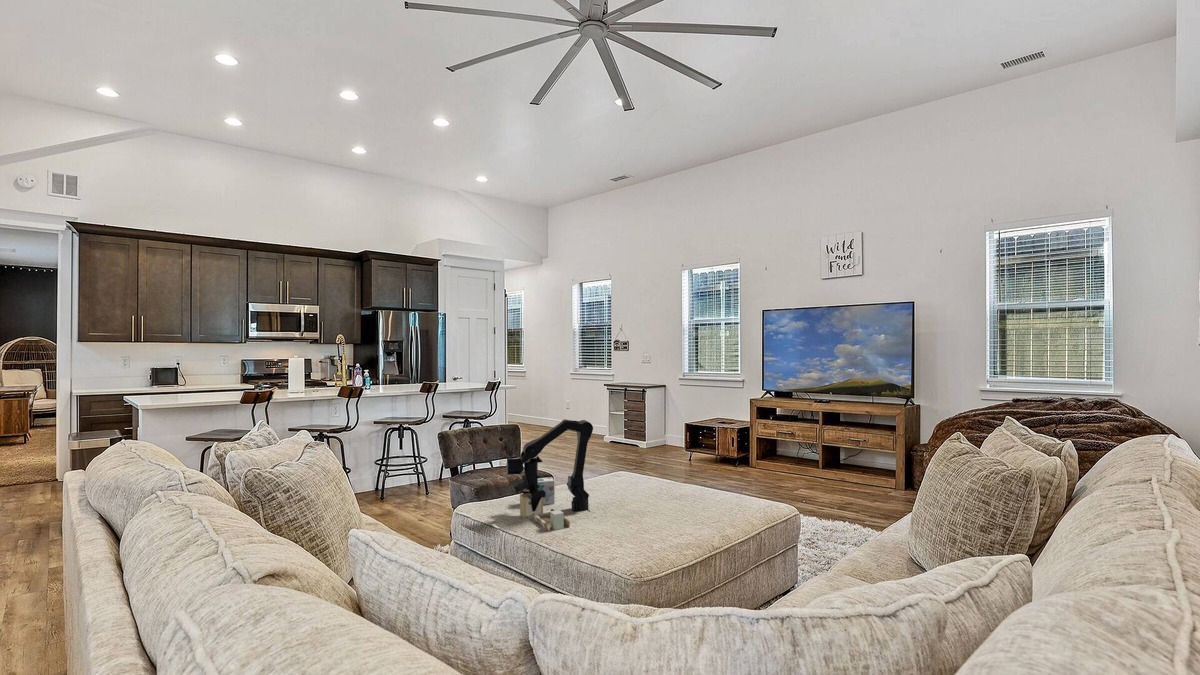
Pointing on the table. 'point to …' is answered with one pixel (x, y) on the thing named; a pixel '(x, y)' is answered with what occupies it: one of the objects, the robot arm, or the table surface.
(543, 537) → the table surface
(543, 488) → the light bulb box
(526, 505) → the carton
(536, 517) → the shelf
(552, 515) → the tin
